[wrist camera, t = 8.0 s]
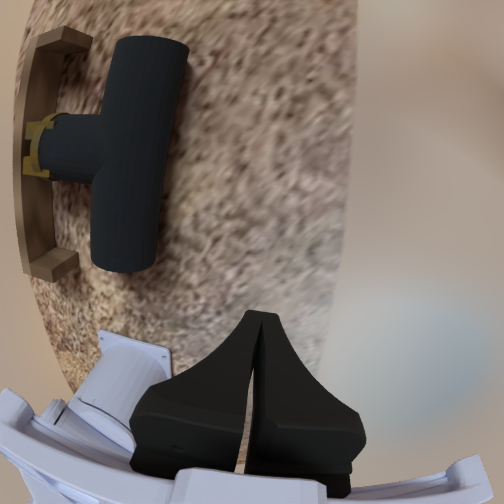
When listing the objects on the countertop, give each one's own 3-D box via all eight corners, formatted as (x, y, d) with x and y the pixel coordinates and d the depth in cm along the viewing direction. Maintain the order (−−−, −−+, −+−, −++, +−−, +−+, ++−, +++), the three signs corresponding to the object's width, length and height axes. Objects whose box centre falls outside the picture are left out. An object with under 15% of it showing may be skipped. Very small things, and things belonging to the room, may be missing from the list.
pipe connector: (20, 243, 17) (35, 51, 12) (57, 224, 22) (75, 61, 16) (138, 280, 17) (174, 33, 12) (165, 250, 22) (198, 57, 17)
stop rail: (79, 264, 23) (53, 283, 19) (49, 256, 23) (23, 272, 19) (92, 37, 15) (64, 25, 12) (58, 46, 16) (30, 38, 12)
